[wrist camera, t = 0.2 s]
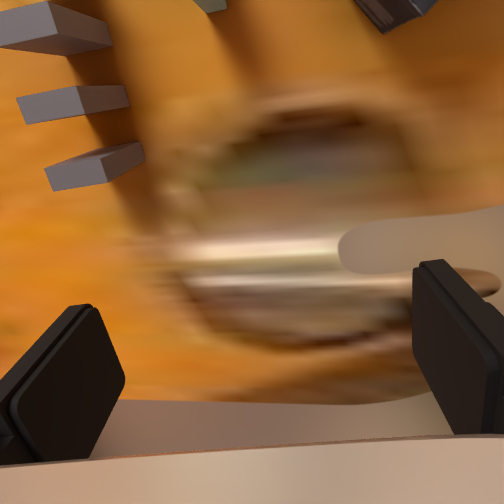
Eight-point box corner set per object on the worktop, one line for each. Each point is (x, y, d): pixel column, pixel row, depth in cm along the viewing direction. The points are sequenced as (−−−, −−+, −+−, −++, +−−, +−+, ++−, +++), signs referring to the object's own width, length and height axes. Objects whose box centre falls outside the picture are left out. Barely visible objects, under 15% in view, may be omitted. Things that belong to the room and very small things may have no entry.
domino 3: (96, 148, 40) (44, 168, 31) (140, 141, 39) (100, 158, 30) (102, 167, 41) (53, 191, 32) (145, 159, 40) (108, 182, 31)
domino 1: (57, 32, 35) (-18, 15, 26) (106, 22, 35) (46, 0, 26) (65, 56, 36) (-5, 47, 27) (113, 46, 36) (58, 33, 26)
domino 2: (78, 94, 38) (15, 97, 28) (124, 85, 37) (75, 85, 28) (85, 114, 38) (26, 124, 29) (130, 106, 38) (84, 113, 29)
